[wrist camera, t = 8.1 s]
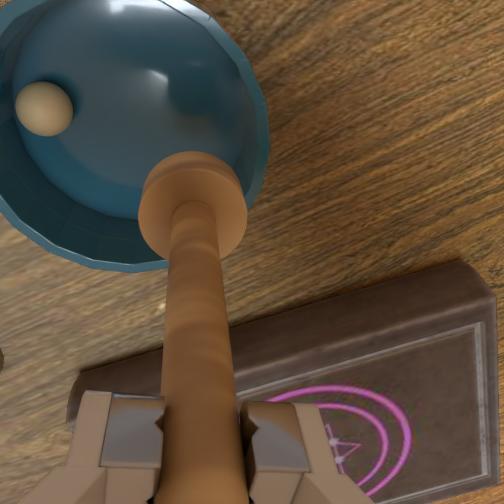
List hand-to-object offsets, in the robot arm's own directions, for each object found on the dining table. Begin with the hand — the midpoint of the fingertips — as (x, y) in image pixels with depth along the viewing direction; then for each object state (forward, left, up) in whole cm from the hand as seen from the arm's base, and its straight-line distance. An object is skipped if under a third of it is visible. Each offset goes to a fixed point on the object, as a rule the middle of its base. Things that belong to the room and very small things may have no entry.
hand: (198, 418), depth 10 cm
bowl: (+3, 0, -22) cm, 22 cm away
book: (-13, +23, -22) cm, 34 cm away
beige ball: (+8, 0, -20) cm, 21 cm away
